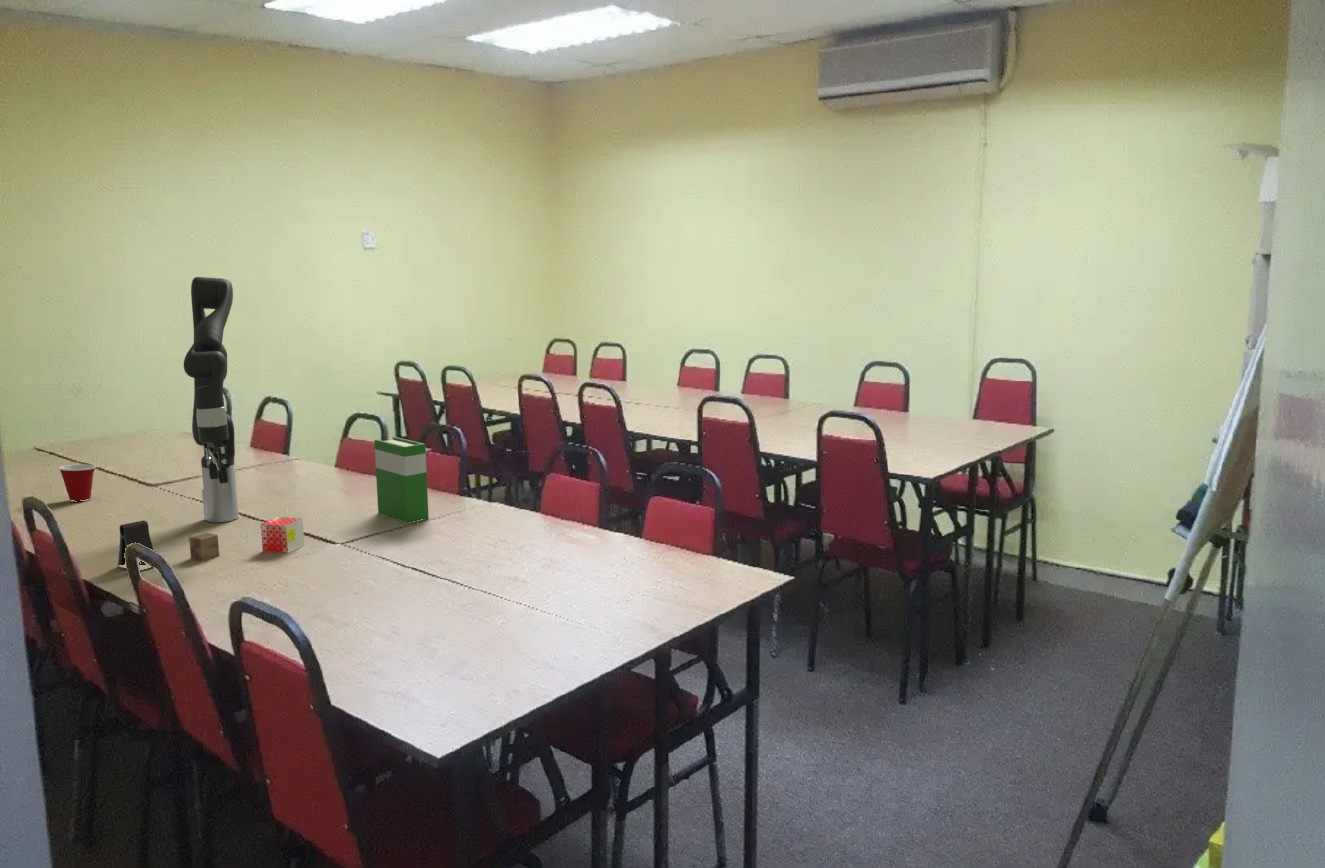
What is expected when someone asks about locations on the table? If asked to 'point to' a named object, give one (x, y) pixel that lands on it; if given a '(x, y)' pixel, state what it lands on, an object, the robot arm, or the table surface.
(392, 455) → the hardback book
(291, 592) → the table surface
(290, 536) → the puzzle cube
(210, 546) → the walnut block
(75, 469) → the plastic cup
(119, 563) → the black tent stand
